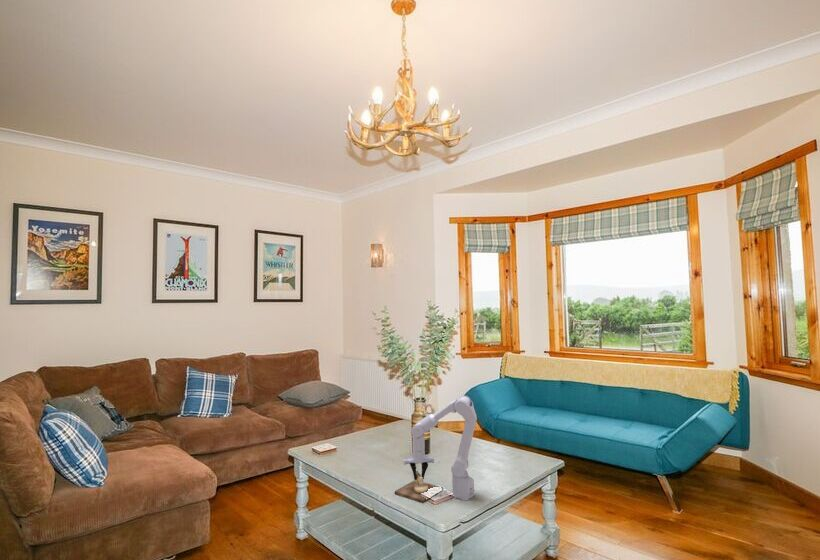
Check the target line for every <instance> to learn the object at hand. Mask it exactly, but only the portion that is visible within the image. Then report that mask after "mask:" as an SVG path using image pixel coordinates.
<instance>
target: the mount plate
mask: <svg viewBox="0 0 820 560" xmlns="http://www.w3.org/2000/svg"><path fill="white" fill-rule="evenodd" d="M423 483H425V484H427V485H428V489H430V488H433V487H441V488H443V487H442V486H438V485H436V484H432V483H428V482H425V481H423ZM415 484H417V482H416V481H415V480H414V479H413V480H412V481H409V483H407V484H405V485H403V486H402V487H400V488H398V489H396V490H395V491H394V495H396V496H398V497H400V496H401V497H403V498H404V499H405V498H406V499H409V500H412V501H415V502H418V503H422V504H425V502H427V501H426V498H424V497H422V496H421V495H420V494H417V493H415V492H414V485H415ZM443 489H444V488H443Z"/></svg>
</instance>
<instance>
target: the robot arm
mask: <svg viewBox="0 0 820 560" xmlns="http://www.w3.org/2000/svg"><path fill="white" fill-rule="evenodd" d="M450 413H452V414H456V413H458V415H460V416H461V417H462V418H463V419H464V421H465V423H464V427H463V430H462V435H461V440H460V443H459V447H458V451H457V454H456V458H455V461H454V463H453V464H452V466H451V471H450V472H451V474H452V476H451V477H452V480H451V481H452V484H451V485H452V491H451V492H452V493H453V495H454V497H453V498H456V499H460V500H463V501H468V500H470V499H471V498H473V496H475V495H476V493H475V479H474V478H473V477H472V476H470V475H469V473H468V472H469V471H467V470H468V468H469V453H470V449H471V446H472V441H473V436H474V432H475V429H476V424H477V420H478V419H477V418H478V416H477V413H476V410H475V408H474V402H473V401H472V399H471V398H470V397H469V396H467V395H461V396H460V397H459V398H455V399H454V400H452V401H451V402H449V403H447V404H446V405H445V406H444V407H442V408H441V409H440V410H438V411H437V412H435V413H434V414H432V413H430V414H429V413H427V414H425V417H424V418H422V419H421V420H418V421H417V423H416V424H414V425H413V426H412V427H411V429H410V433H411V436H412V457H410V458H409V457H408V458H403V460H402V462H403V466H406V465H409V466H410V467H411V470H412V473H413V474H412V475H413V480H414V479H415V480H416V471H417V466H416V464H421V476H422V477H423V480H425V474H426V472H427V470H428V468H429V464H431V463H432V464H434V463H435V458H434V457H431V456H430V457H429V456H427V457H426V454H425V453H426V449H425V447H426V445H425V443H426V442H425V433H427V432H428V431H430V430H431V429H433V428H435V427H436V426H437V425H438V422H439V420H441V419H442V418H444V417H445V416H447V415H449V414H450Z"/></svg>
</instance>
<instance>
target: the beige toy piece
mask: <svg viewBox="0 0 820 560" xmlns="http://www.w3.org/2000/svg"><path fill="white" fill-rule="evenodd" d="M414 480H415V479H414V478H413V481H414ZM415 481H416V482H417V484H415V485H414V492H415V493H417V494H421V493H424V492H427V491H428V485H427V484H425V483H426V482H425V483H423V482H424V479H423V477H422V474H420V472H419V471H418V470H416V480H415Z"/></svg>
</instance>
